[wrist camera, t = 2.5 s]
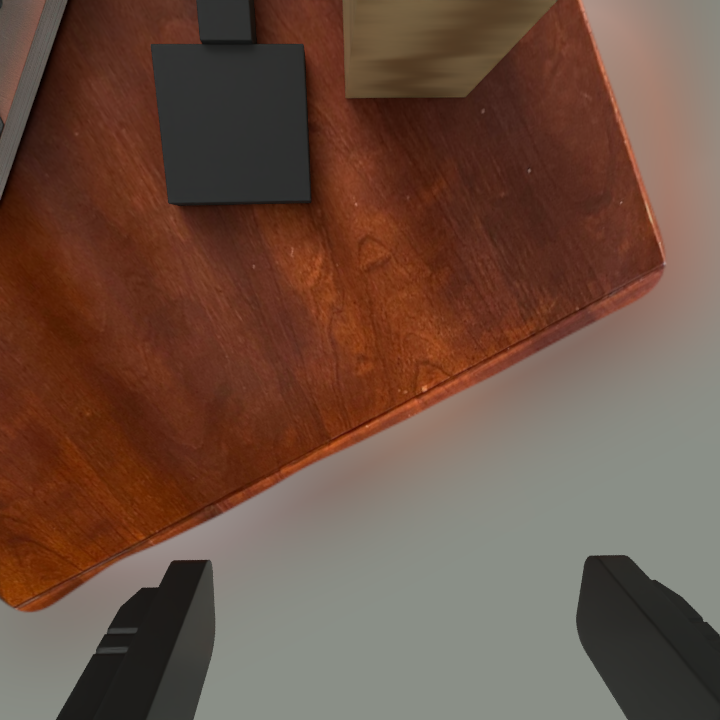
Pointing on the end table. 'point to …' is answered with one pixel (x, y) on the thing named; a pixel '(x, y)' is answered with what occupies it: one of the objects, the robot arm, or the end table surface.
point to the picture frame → (22, 66)
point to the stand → (429, 44)
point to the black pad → (232, 113)
